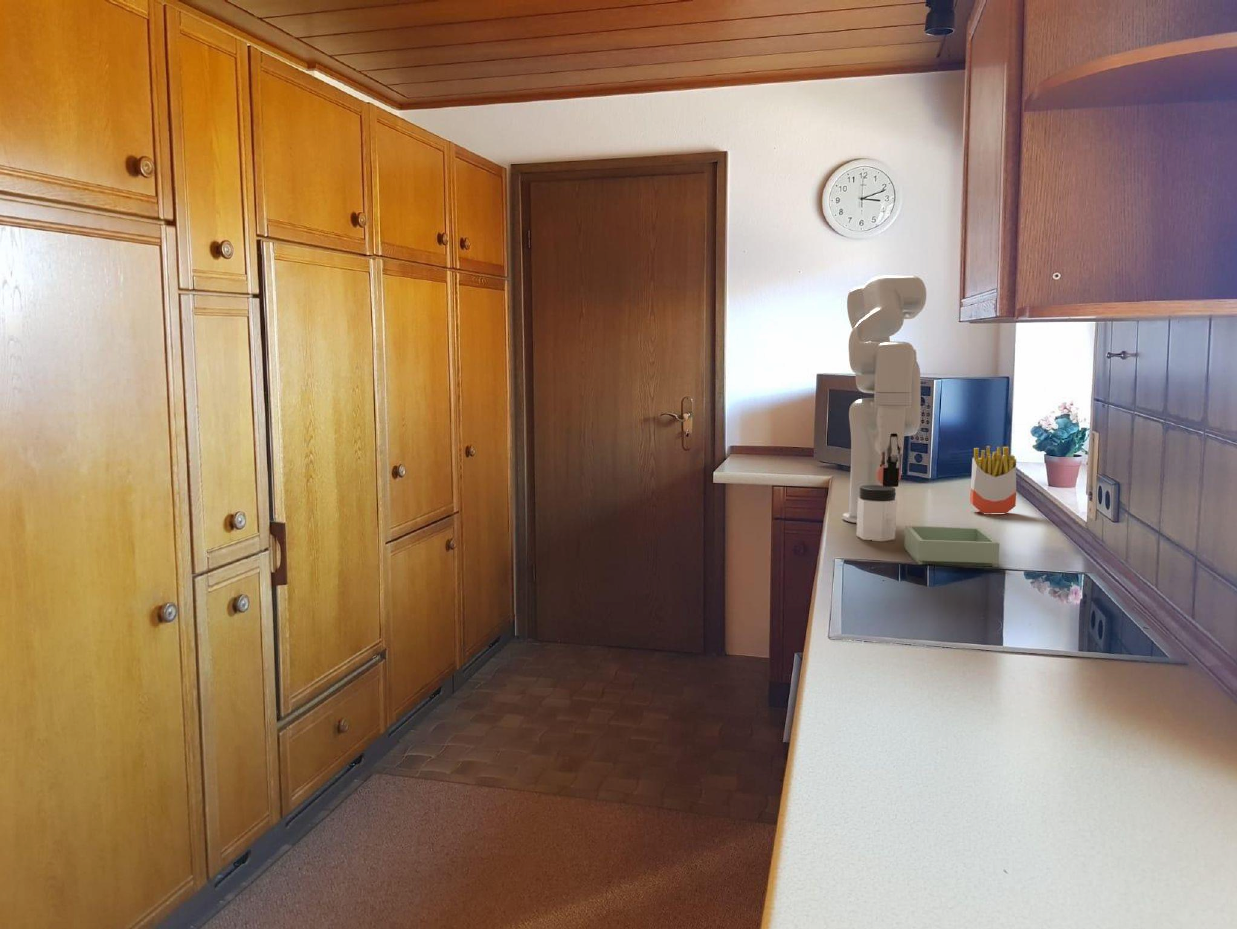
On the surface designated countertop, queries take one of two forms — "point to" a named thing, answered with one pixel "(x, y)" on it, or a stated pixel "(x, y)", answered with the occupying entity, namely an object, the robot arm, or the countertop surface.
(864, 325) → the robot arm
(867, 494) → the jar
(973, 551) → the green bin
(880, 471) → the tomato ball
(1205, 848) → the countertop surface
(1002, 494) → the french fries container
